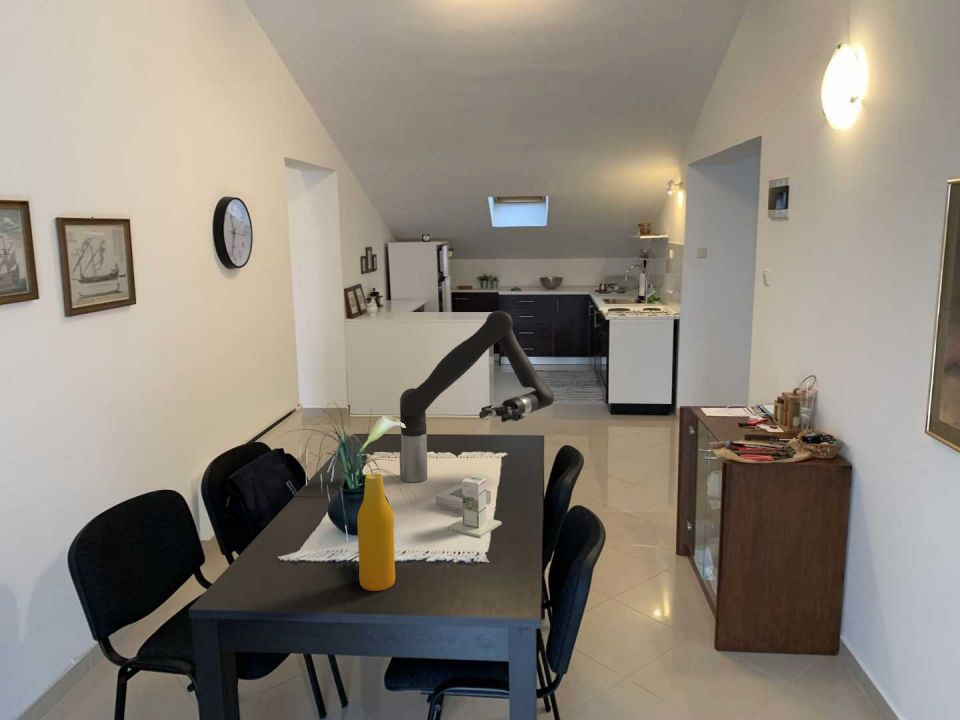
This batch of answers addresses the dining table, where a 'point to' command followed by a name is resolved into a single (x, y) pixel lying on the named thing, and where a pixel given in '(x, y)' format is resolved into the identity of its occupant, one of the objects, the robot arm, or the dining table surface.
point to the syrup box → (474, 501)
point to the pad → (475, 531)
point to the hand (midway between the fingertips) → (491, 417)
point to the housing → (454, 499)
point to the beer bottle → (375, 537)
